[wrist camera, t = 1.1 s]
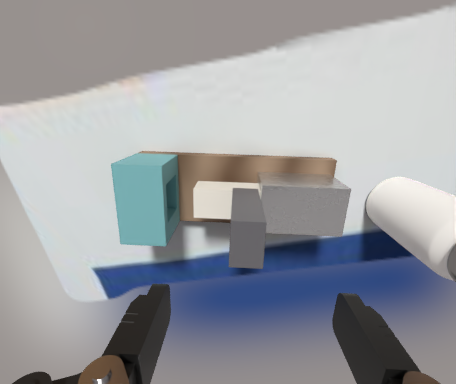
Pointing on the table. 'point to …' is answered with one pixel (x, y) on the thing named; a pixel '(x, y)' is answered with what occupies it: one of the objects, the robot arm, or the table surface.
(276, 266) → the table surface
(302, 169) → the board
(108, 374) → the robot arm
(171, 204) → the socket
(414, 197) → the can
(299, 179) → the grey speckled block
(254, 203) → the sliding bolt
